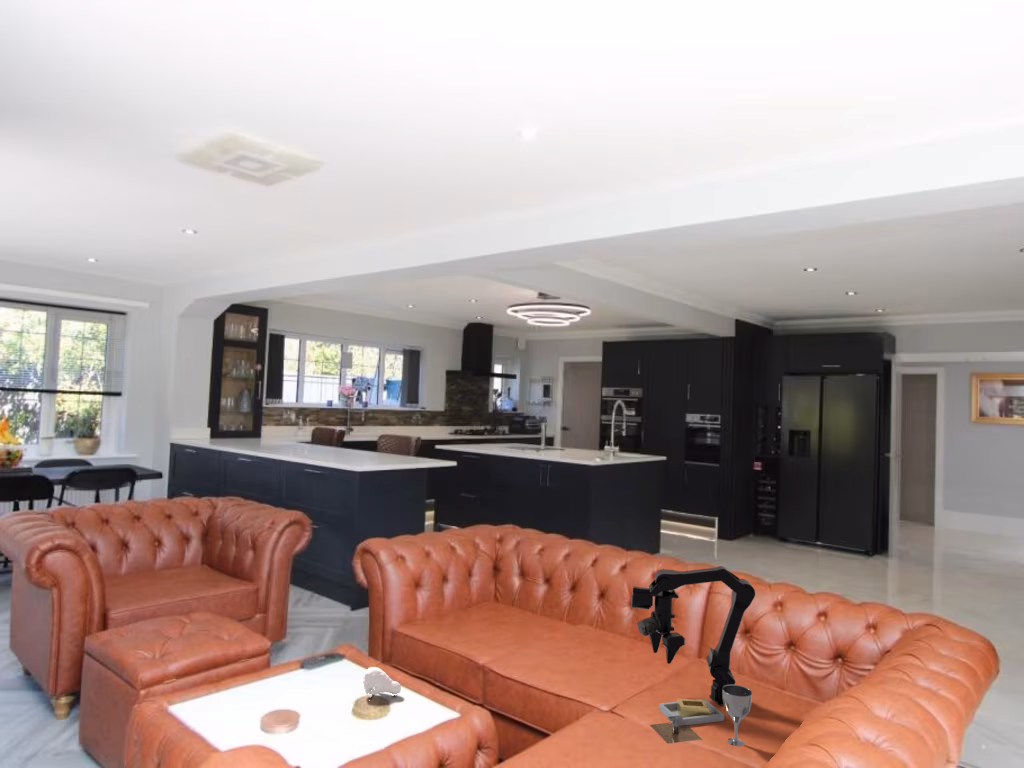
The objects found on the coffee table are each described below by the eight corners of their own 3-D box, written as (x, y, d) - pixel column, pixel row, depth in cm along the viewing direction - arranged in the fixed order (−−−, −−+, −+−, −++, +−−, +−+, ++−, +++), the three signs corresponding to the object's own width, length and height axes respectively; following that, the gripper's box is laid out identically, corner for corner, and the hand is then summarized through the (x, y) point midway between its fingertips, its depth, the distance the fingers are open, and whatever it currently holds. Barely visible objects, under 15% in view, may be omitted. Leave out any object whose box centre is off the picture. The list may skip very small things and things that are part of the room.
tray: (704, 705, 218) (704, 698, 218) (724, 722, 208) (724, 714, 208) (658, 710, 214) (658, 703, 214) (676, 727, 203) (676, 720, 203)
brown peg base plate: (682, 722, 207) (683, 706, 207) (702, 740, 196) (702, 724, 196) (649, 726, 204) (649, 710, 204) (667, 745, 193) (668, 728, 193)
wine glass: (716, 736, 199) (718, 684, 199) (743, 736, 199) (745, 684, 199) (727, 751, 191) (729, 696, 191) (755, 750, 191) (757, 696, 191)
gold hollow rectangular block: (680, 718, 208) (680, 706, 208) (676, 709, 214) (677, 698, 214) (715, 720, 208) (715, 708, 208) (710, 711, 213) (711, 700, 213)
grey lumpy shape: (368, 662, 222) (405, 668, 221) (365, 689, 222) (401, 695, 221) (362, 670, 216) (400, 676, 215) (359, 697, 216) (396, 704, 215)
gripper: (628, 602, 232) (626, 649, 232) (654, 621, 214) (652, 671, 214) (658, 600, 235) (656, 646, 235) (686, 618, 217) (685, 668, 217)
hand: (661, 658), depth 225 cm, fingers open, 9 cm apart
